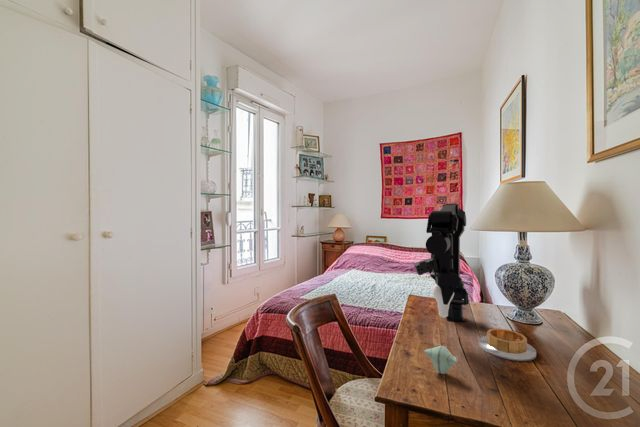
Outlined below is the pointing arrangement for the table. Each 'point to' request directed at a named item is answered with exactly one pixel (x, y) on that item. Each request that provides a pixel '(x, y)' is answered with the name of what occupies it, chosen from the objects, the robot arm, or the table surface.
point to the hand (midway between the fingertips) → (443, 301)
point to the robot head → (441, 359)
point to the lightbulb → (441, 301)
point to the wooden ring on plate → (507, 345)
